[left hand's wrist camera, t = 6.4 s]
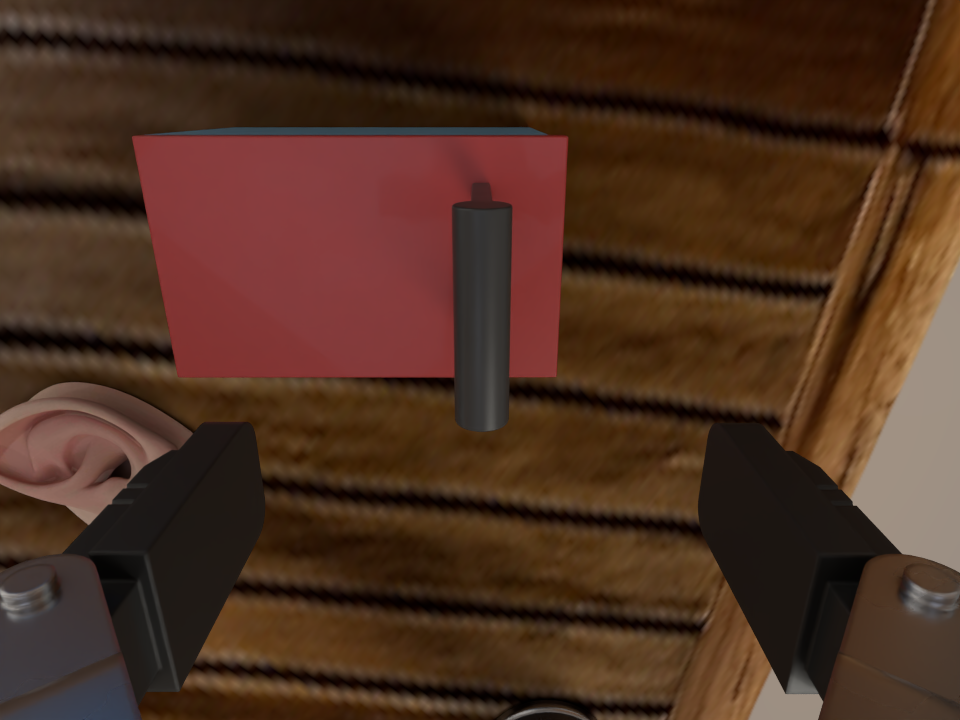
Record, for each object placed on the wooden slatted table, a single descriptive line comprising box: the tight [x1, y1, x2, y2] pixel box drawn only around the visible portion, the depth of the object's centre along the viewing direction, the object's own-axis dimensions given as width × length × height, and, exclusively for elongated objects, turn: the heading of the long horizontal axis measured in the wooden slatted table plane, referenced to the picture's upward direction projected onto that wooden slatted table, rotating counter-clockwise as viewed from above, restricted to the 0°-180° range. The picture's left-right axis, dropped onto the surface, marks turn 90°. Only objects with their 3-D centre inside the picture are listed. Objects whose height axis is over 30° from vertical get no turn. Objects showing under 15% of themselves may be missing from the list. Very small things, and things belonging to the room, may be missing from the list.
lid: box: [132, 135, 568, 432], centre depth 22 cm, size 16×10×9 cm, turn 90°
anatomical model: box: [0, 382, 193, 525], centre depth 39 cm, size 13×4×12 cm
